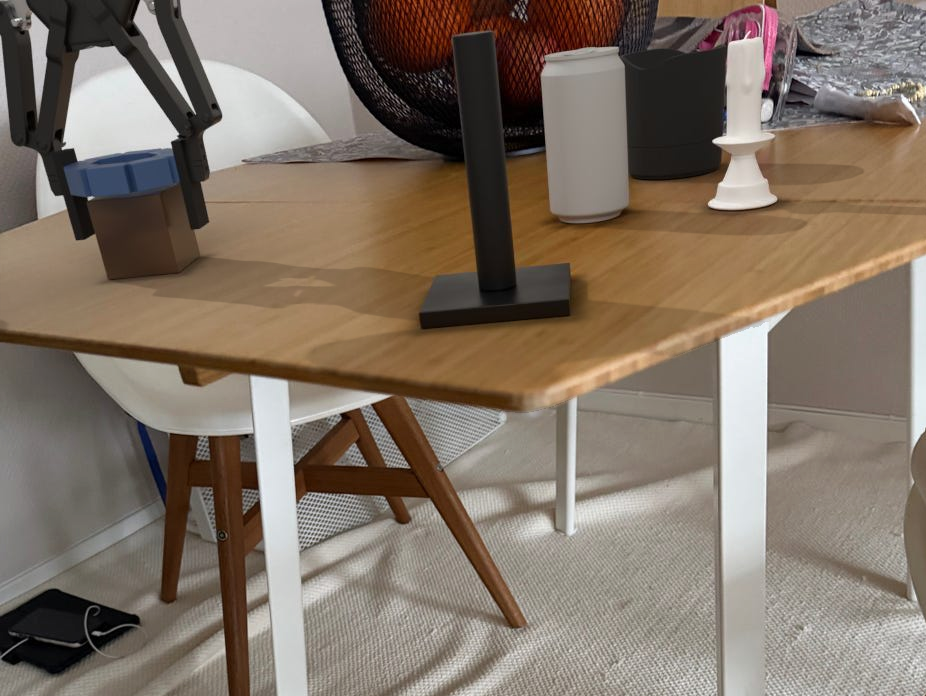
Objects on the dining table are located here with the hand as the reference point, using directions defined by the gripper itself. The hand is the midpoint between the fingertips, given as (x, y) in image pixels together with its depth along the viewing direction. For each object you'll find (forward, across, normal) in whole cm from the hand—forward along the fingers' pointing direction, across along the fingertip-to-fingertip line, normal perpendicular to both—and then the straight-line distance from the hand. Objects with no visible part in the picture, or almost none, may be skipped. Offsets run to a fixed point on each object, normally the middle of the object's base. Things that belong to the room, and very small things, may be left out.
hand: (143, 231), depth 89 cm
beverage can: (+3, -36, -3) cm, 37 cm away
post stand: (+3, -30, +21) cm, 37 cm away
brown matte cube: (+3, 0, 0) cm, 3 cm away
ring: (-4, 0, 0) cm, 4 cm away
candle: (+3, -48, -2) cm, 48 cm away
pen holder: (+3, -44, -20) cm, 49 cm away
